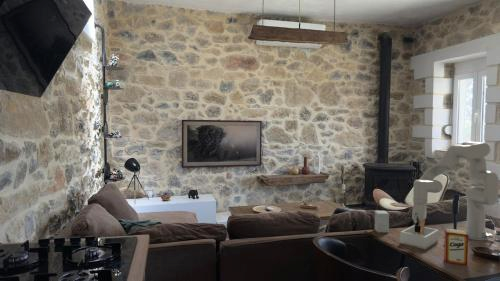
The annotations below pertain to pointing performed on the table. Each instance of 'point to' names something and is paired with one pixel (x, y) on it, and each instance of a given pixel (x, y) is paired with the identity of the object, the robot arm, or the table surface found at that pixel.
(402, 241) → the tote
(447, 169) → the robot arm
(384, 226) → the supplement box
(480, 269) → the table surface
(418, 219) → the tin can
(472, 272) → the table surface
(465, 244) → the baking soda box
